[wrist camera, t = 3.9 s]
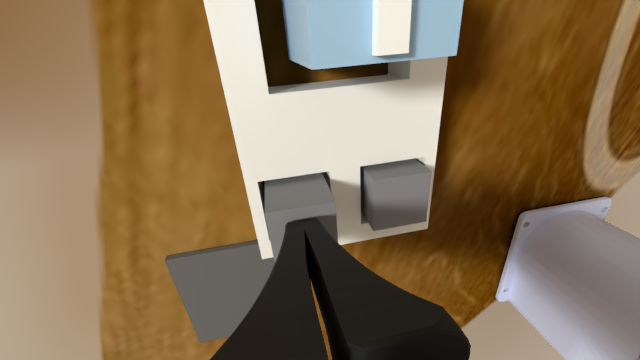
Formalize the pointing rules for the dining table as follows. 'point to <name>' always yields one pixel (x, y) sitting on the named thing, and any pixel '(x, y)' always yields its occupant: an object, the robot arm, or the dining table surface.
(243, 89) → the housing
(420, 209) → the plunger far
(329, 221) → the plunger near
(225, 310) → the mat
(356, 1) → the block
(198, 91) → the dining table surface
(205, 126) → the dining table surface
